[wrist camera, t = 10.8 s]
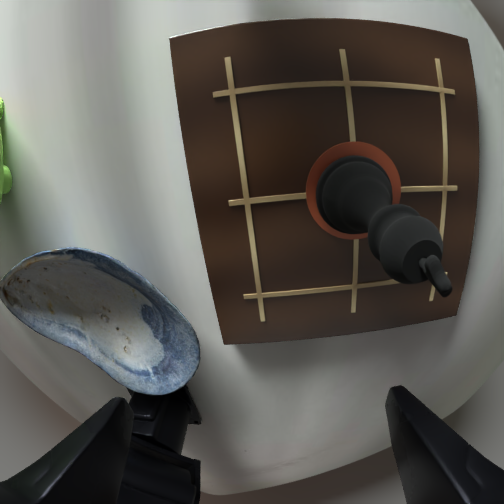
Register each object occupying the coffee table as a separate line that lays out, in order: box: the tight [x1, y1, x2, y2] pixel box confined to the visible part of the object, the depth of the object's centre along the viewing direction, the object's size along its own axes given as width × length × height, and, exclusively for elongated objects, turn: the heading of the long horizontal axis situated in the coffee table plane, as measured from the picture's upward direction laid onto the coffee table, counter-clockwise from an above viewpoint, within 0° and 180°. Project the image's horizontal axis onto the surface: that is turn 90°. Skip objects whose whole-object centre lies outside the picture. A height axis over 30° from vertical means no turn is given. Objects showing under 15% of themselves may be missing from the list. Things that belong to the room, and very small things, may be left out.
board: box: [169, 18, 479, 345], centre depth 16 cm, size 20×18×2 cm
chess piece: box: [315, 155, 453, 297], centre depth 11 cm, size 4×4×10 cm
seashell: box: [0, 247, 200, 395], centre depth 19 cm, size 15×12×5 cm
